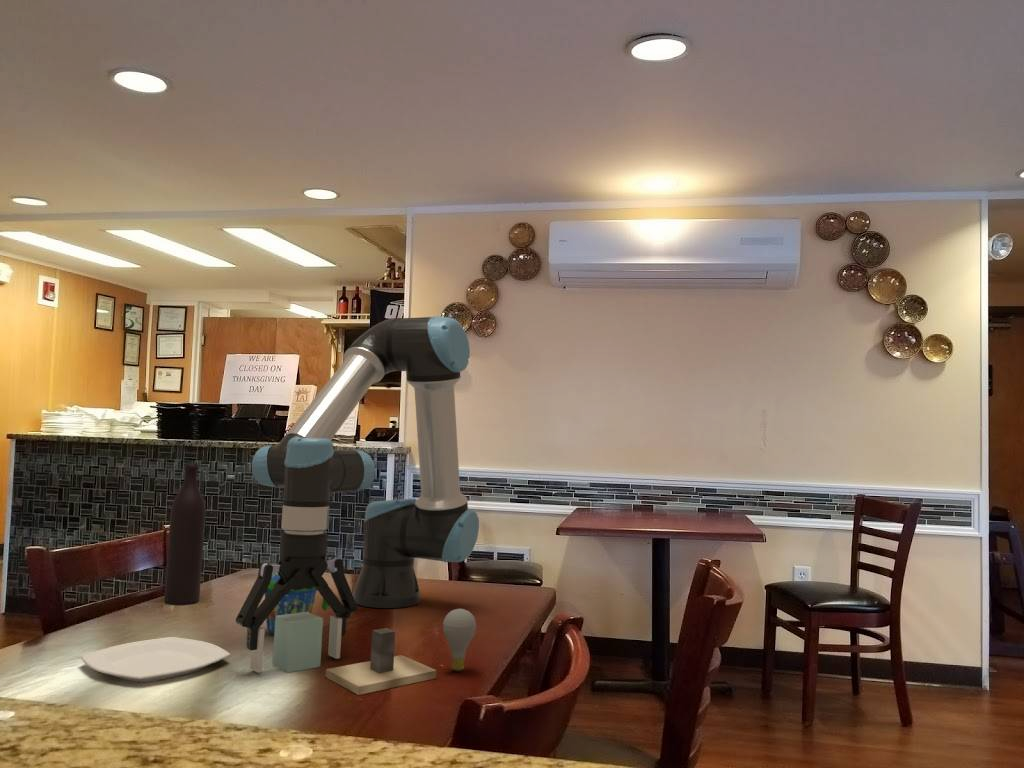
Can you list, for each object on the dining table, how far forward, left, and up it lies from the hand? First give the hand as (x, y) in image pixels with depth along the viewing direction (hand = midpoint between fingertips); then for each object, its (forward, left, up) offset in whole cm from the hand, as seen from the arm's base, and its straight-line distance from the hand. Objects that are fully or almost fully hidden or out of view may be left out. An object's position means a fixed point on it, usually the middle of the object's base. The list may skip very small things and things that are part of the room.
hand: (296, 663), depth 124 cm
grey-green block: (0, 0, 0) cm, 0 cm away
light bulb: (-20, +17, 0) cm, 26 cm away
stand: (-8, +13, 0) cm, 15 cm away
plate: (+18, -12, -1) cm, 22 cm away
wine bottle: (0, -55, 0) cm, 55 cm away
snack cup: (-8, -20, -1) cm, 22 cm away
